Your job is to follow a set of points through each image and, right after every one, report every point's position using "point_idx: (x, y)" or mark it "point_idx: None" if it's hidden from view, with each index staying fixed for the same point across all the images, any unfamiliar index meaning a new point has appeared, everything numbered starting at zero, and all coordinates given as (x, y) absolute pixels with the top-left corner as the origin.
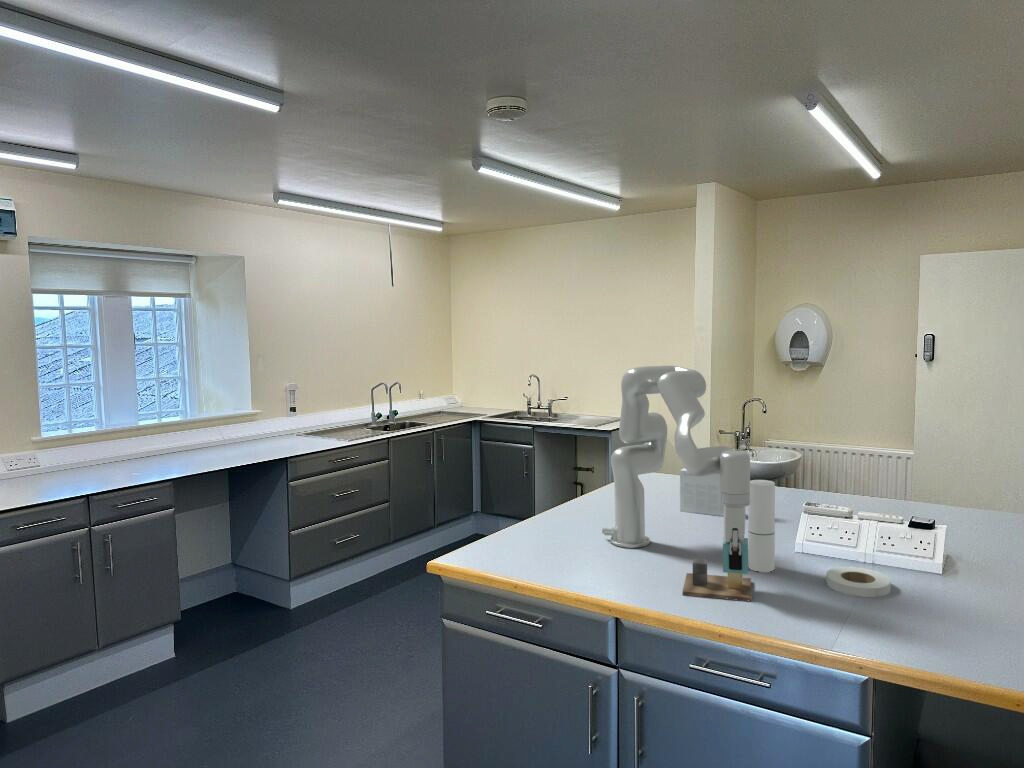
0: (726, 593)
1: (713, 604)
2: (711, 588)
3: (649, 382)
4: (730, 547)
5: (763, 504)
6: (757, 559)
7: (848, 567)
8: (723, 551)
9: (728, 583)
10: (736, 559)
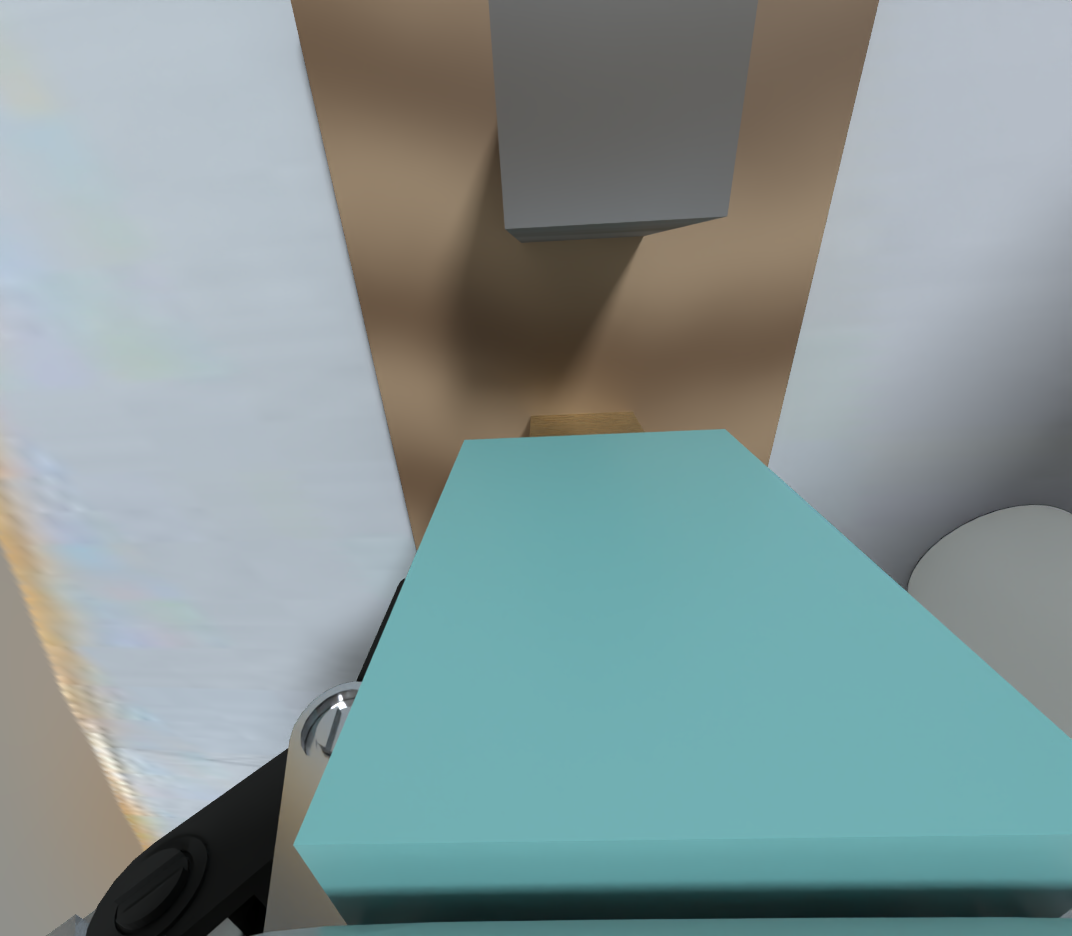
0: (420, 413)
1: (258, 327)
2: (482, 292)
3: None
4: (277, 862)
5: None
6: (1007, 614)
7: None
8: (389, 628)
9: (530, 433)
10: None
